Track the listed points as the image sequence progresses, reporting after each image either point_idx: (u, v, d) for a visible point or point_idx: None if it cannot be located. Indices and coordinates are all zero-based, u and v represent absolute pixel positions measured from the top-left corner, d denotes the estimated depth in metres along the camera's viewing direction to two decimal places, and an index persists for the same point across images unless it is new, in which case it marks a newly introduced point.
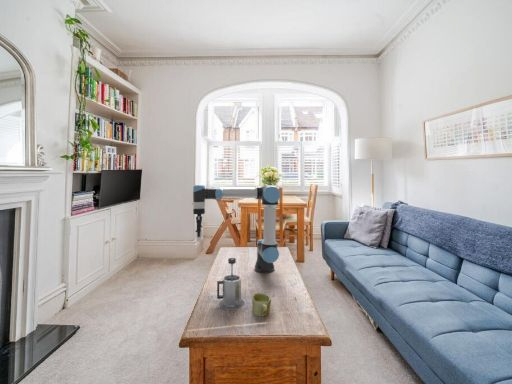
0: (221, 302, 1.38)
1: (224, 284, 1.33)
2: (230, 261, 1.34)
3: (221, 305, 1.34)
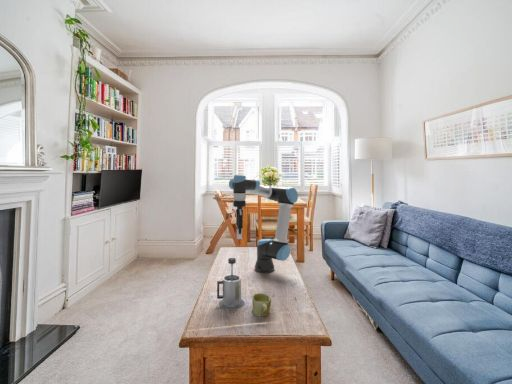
0: (221, 302, 1.38)
1: (224, 284, 1.33)
2: (230, 261, 1.34)
3: (221, 305, 1.34)
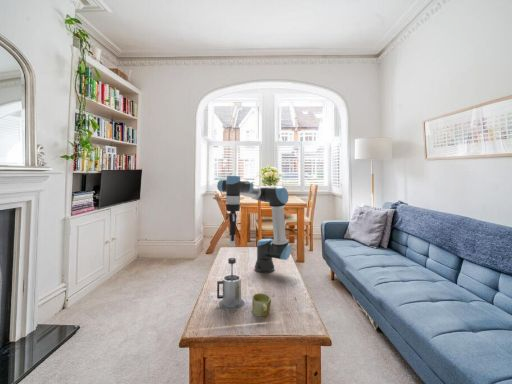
0: (221, 302, 1.38)
1: (224, 284, 1.33)
2: (230, 261, 1.34)
3: (221, 305, 1.34)
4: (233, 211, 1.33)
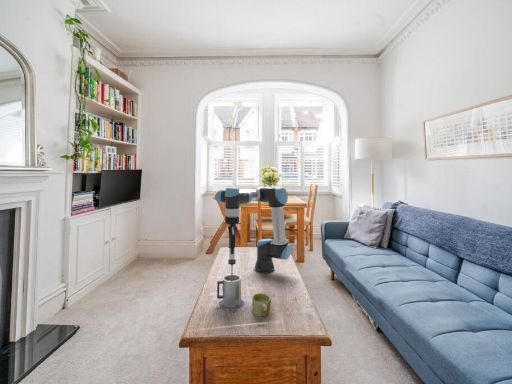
0: (221, 302, 1.38)
1: (224, 284, 1.33)
2: (230, 262, 1.34)
3: (221, 305, 1.34)
4: (232, 224, 1.32)
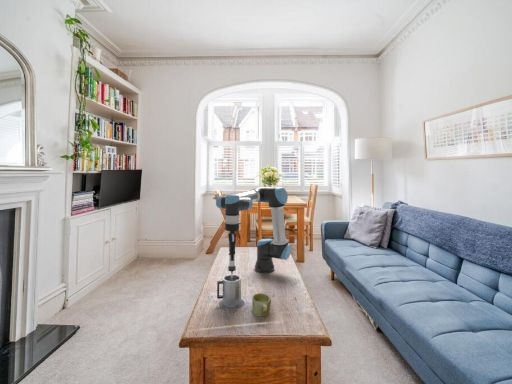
0: (221, 302, 1.38)
1: (224, 284, 1.33)
2: (230, 268, 1.35)
3: (221, 305, 1.34)
4: (232, 231, 1.32)
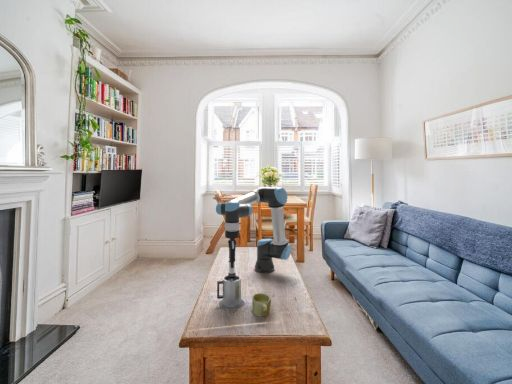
0: (221, 302, 1.38)
1: (224, 284, 1.33)
2: (230, 276, 1.35)
3: (221, 305, 1.34)
4: (232, 238, 1.32)
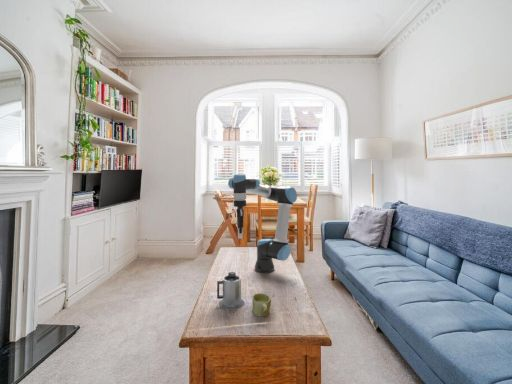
0: (221, 302, 1.38)
1: (224, 284, 1.33)
2: (230, 276, 1.35)
3: (221, 305, 1.34)
4: (240, 206, 1.48)
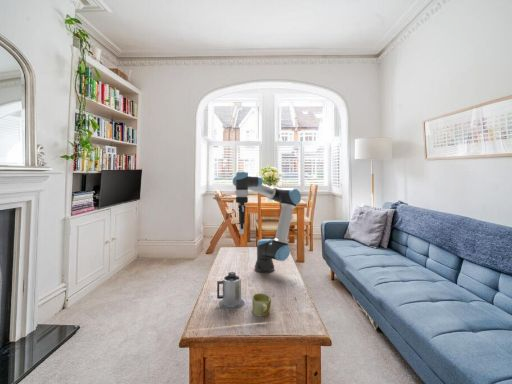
0: (221, 302, 1.38)
1: (224, 284, 1.33)
2: (230, 276, 1.35)
3: (221, 305, 1.34)
4: (242, 203, 1.54)
